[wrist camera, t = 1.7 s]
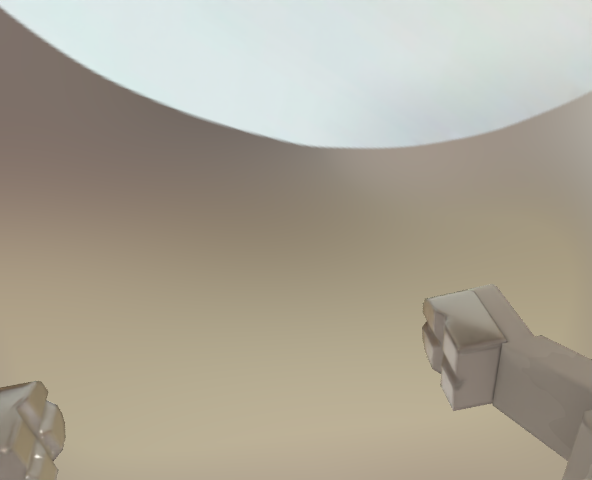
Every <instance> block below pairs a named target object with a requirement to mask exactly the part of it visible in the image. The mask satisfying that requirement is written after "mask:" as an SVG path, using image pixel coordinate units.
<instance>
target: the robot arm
mask: <svg viewBox="0 0 592 480" xmlns="http://www.w3.org/2000/svg"><path fill="white" fill-rule="evenodd" d="M423 314H424V315H425V318H426V320H427V322H426V323H425V324H424V326H423V327H422V336H423V343H424V349H425V352H426V355H427V358H428V360H429V362H430V365H431V367H432V369H434V370H435V371H437V372H438V373H440V374H441V387H442V389H443V391H444V393H445V395H446V397H447V399H448V401H449V403H450V405H451V407H452V409H453V411H455V410H460V409H466V408H471V407H476V406H480V405H485V404H491V403H493V406H494V407H496V408H497V409H499V410H500V411H501V412H502V413H504V414H505V415H507V416H508V417H509V418H511V419H512V420H513V421H515V422H516V423H517V424H519V425H520V426H521V427H523V428H524V429H525V430H527V431H528V432H529V433H531V434H532V435H534V436H535V437H536V438H538V439H539V440H540V441H542V442H543V443H544V444H546V445H547V446H548V447H550V448H551V449H553V450H554V451H555V452H556V453H558V454H559V455H560V456H562V457H563V458H564V459H566V460H567V461H568V463H567V467H566V469H565V473H564V476H563V479H562V480H592V359H589V358H587V357H585V356H583V355H581V354H579V353H577V352H575V351H573V350H571V349H569V348H567V347H565V346H563V345H561V344H559V343H557V342H554V341H552V340H550V339H548V338H546V337H544V336H542V335H540V336H534V335H533V334H532V332H531V331H530V330H529V329H528V327H527V326H526V324H525V323H524V322H523V320H522V319H521V318H520V316H519V315H518V314H517V312H516V311H515V310H514V308H513V307H512V306H511V305H510V303H509V302H508V301H507V299H506V298H505V297H504V295H503V294H502V293H501V291H500V290H499V289H498V287H497V286H495V285H493V284H490V285H486V286H481V287H477V288H472V289H469V290H463V291H458V292H454V293H449V294H445V295H440V296H436V297H431V298H427V299H425V300H424V303H423ZM47 395H48V390H47V389H46V388H45V386H44V385H43V383H42V382H40V381H34V382H28V383H23V384H17V385H12V386H7V387H1V388H0V480H56V478H57V474H58V469H57V467H56V465H55V464H54V462H53V461H54V460H55V459H56V457H57V456H58V455H59V454H60V453H61V451H62V450H63V447H64V441H65V422H64V419H63V415H62V412H61V411H60V409H59V408H58V406H57V405H56V404H53V403H51V402H49V401H47V400H46V398H47Z"/></svg>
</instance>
